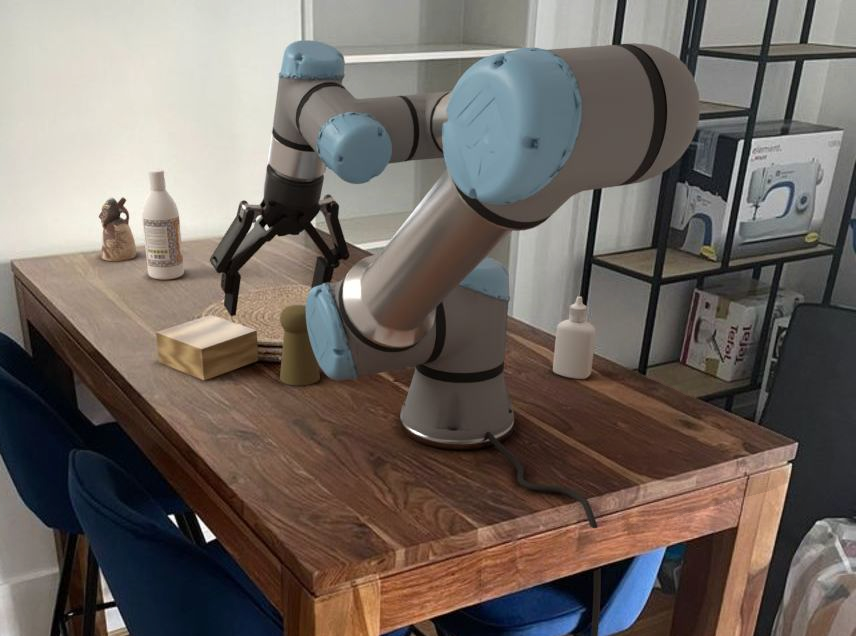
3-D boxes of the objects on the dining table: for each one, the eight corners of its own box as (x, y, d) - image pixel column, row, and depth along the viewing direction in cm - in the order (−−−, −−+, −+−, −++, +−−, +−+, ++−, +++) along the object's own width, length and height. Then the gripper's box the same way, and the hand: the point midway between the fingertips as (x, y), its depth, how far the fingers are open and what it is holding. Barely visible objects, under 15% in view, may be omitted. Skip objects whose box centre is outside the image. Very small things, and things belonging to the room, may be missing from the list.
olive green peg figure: (314, 386, 150) (312, 315, 144) (275, 383, 151) (271, 312, 145) (324, 371, 155) (322, 301, 149) (285, 368, 156) (282, 299, 151)
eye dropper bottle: (571, 365, 156) (579, 289, 151) (595, 377, 152) (604, 300, 146) (548, 370, 155) (555, 294, 149) (571, 383, 150) (579, 304, 144)
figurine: (103, 252, 214) (96, 194, 208) (138, 251, 215) (131, 193, 209) (100, 261, 208) (92, 202, 202) (135, 260, 208) (128, 201, 202)
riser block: (258, 360, 159) (256, 330, 157) (204, 380, 152) (201, 349, 150) (213, 344, 166) (210, 314, 163) (159, 362, 159) (155, 332, 156)
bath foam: (185, 279, 197) (176, 173, 187) (149, 281, 196) (137, 174, 186) (183, 269, 203) (173, 165, 193) (147, 271, 202) (136, 167, 192)
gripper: (367, 150, 139) (339, 281, 153) (194, 158, 128) (182, 299, 142) (392, 177, 134) (361, 310, 149) (216, 189, 123) (201, 330, 138)
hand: (273, 305), depth 146 cm, fingers open, 13 cm apart
